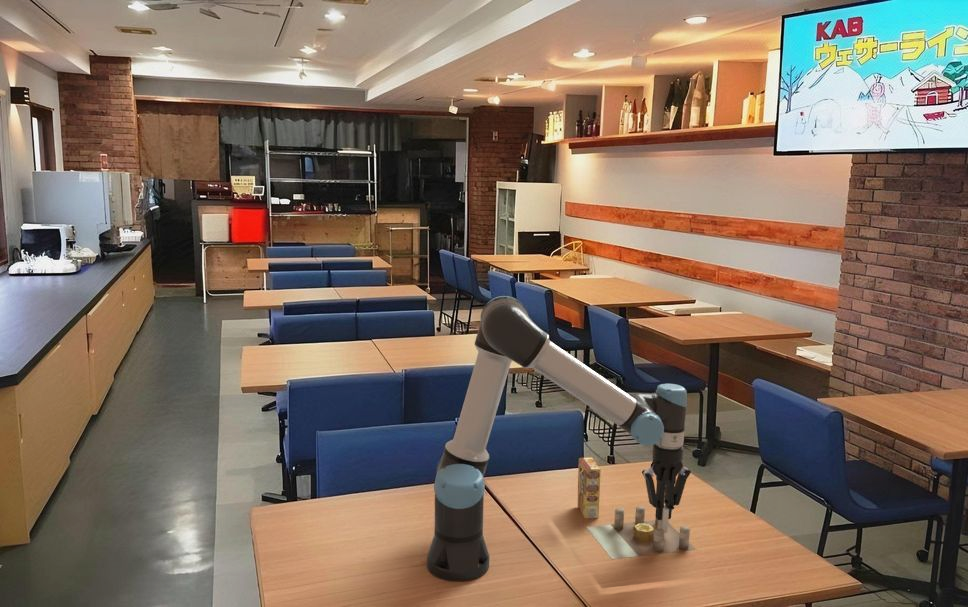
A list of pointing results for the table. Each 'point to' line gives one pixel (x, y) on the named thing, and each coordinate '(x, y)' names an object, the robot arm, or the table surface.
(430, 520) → the table surface
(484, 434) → the robot arm
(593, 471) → the candy box
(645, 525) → the wooden star polyhedron
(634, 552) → the board
